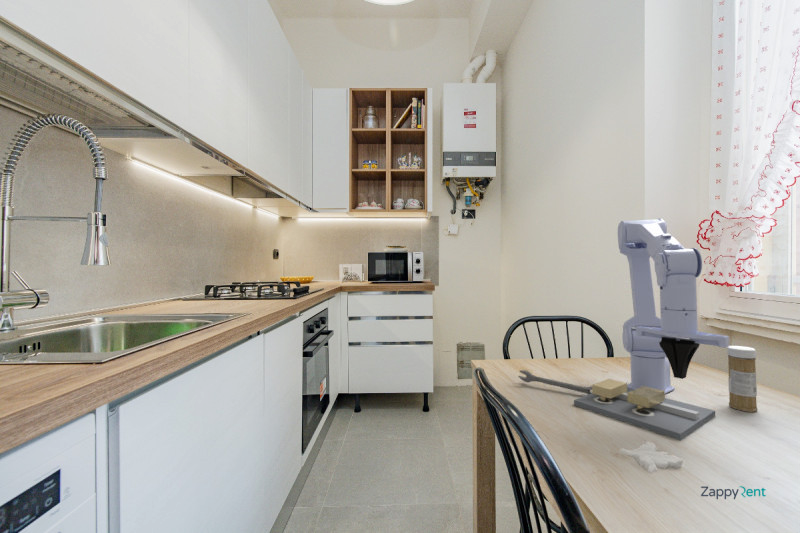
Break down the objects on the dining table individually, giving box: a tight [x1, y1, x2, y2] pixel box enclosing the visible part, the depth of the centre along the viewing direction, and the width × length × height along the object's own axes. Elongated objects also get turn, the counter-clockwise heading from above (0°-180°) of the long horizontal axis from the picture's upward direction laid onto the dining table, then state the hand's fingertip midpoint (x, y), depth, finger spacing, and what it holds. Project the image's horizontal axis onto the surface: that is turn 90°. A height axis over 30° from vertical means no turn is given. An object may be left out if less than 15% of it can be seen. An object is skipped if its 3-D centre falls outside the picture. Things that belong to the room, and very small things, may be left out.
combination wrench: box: [517, 369, 592, 395], centre depth 89 cm, size 4×1×20 cm
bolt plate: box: [573, 378, 716, 441], centre depth 75 cm, size 18×20×4 cm
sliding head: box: [627, 386, 666, 411], centre depth 74 cm, size 8×4×3 cm, turn 123°
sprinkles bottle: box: [726, 345, 758, 413], centre depth 76 cm, size 5×5×14 cm
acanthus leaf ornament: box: [618, 441, 684, 474], centre depth 57 cm, size 8×7×2 cm
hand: (680, 377), depth 69 cm, fingers closed
